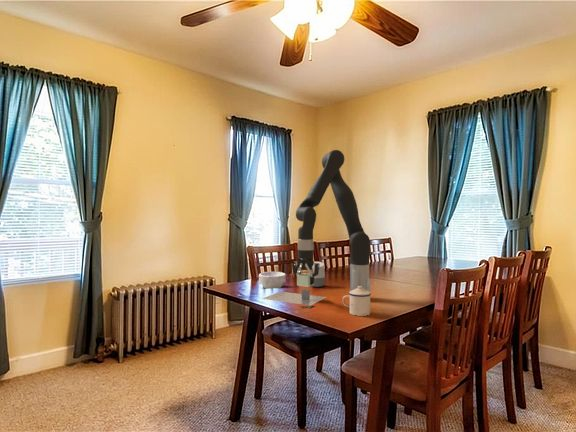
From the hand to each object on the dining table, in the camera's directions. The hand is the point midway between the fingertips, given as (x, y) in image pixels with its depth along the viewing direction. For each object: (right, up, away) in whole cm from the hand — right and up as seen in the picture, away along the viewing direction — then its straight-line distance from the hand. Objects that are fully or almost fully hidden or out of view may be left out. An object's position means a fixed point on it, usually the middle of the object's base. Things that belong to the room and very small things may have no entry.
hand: (305, 283), depth 173 cm
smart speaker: (+8, -9, +38) cm, 40 cm away
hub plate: (-5, -9, +3) cm, 11 cm away
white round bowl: (-17, -9, +35) cm, 40 cm away
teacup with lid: (+21, -9, -18) cm, 29 cm away
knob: (0, -1, 0) cm, 1 cm away
